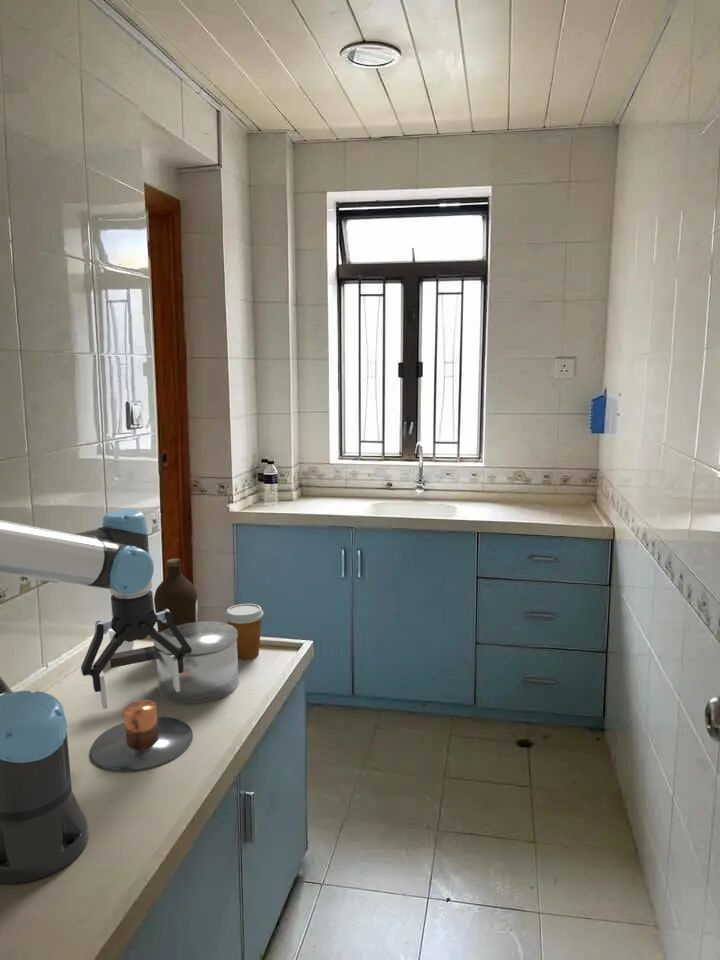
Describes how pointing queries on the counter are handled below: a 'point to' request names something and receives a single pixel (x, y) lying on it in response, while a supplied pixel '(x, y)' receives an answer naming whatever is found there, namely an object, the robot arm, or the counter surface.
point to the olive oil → (176, 597)
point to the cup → (125, 645)
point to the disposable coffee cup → (246, 628)
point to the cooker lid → (141, 740)
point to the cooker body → (193, 662)
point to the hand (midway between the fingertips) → (141, 697)
